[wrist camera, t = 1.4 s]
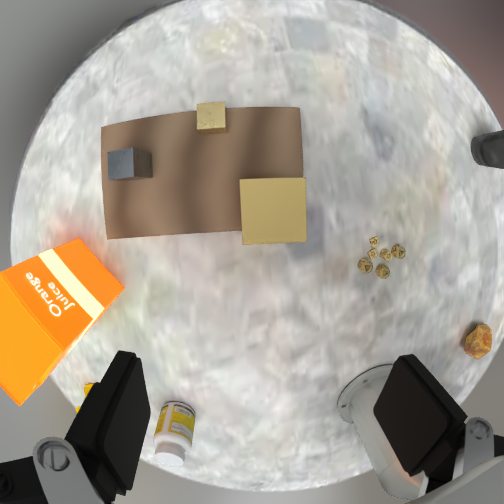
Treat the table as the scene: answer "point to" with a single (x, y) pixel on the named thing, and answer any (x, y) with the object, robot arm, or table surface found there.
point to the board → (196, 169)
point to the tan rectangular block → (273, 210)
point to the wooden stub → (211, 118)
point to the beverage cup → (489, 149)
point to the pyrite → (479, 341)
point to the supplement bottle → (174, 433)
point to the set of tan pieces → (381, 269)
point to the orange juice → (48, 312)
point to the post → (129, 165)
